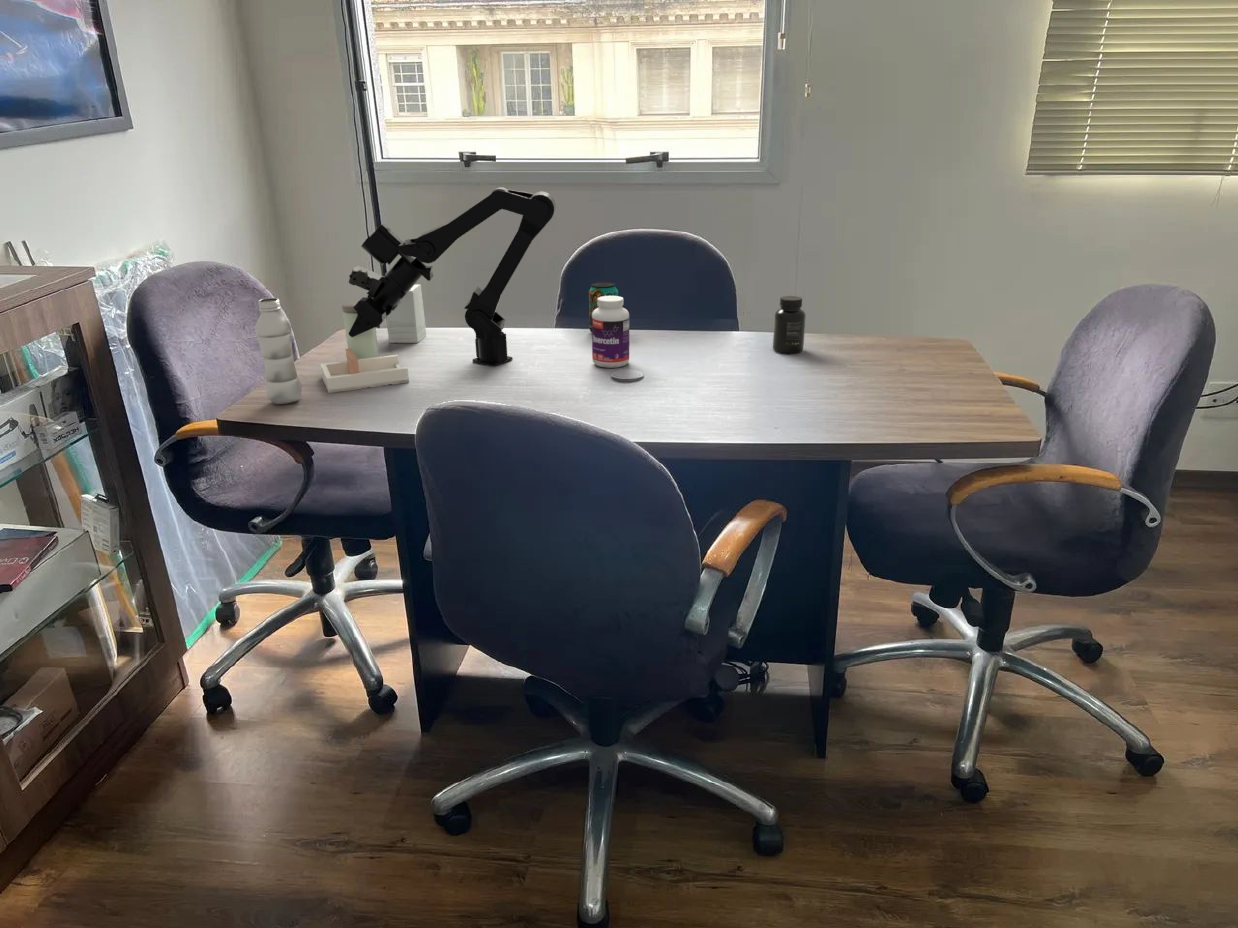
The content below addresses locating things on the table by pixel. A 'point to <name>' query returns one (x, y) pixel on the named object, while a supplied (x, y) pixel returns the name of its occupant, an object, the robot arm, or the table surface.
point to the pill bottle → (610, 333)
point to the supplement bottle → (789, 326)
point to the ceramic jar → (363, 342)
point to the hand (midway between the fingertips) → (354, 331)
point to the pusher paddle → (352, 362)
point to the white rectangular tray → (364, 374)
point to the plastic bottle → (277, 353)
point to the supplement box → (407, 319)
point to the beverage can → (599, 295)
